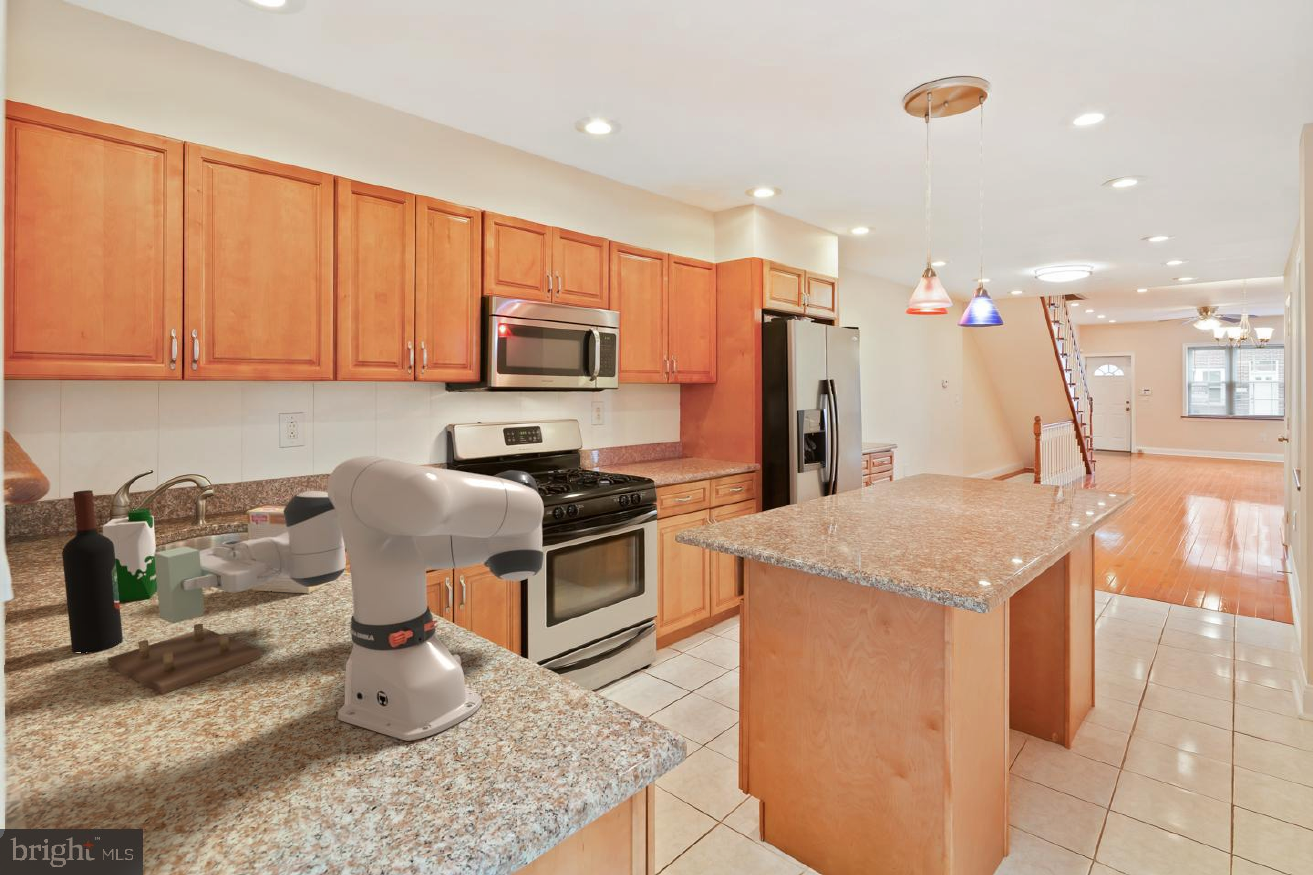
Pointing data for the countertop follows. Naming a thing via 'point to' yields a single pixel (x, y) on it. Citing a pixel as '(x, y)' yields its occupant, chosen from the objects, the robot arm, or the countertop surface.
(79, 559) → the wine bottle
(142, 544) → the milk carton
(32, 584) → the countertop surface
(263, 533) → the coffeecake box
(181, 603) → the block
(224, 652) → the nest board
